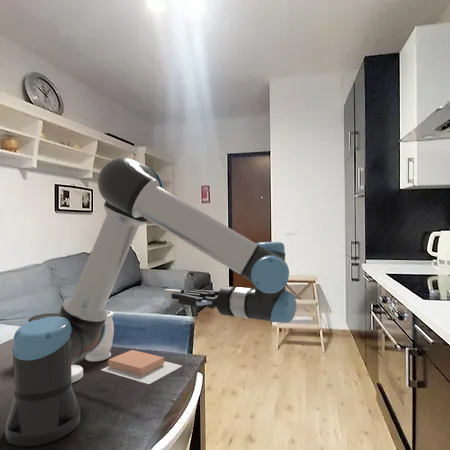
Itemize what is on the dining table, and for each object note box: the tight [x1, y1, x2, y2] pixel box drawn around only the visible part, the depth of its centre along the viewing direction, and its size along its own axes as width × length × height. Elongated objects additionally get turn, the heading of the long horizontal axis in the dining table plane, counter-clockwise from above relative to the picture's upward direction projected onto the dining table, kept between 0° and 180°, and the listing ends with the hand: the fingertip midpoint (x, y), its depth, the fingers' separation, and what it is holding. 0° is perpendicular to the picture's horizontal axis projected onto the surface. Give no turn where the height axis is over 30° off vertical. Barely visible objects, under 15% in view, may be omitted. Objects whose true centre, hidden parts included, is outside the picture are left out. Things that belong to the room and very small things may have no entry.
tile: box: [107, 349, 165, 376], centre depth 114 cm, size 2×10×14 cm
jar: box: [84, 310, 115, 363], centre depth 125 cm, size 11×10×15 cm
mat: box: [100, 360, 183, 385], centre depth 113 cm, size 20×15×1 cm
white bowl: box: [71, 364, 84, 384], centre depth 106 cm, size 10×10×4 cm
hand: (166, 293), depth 107 cm, fingers closed
